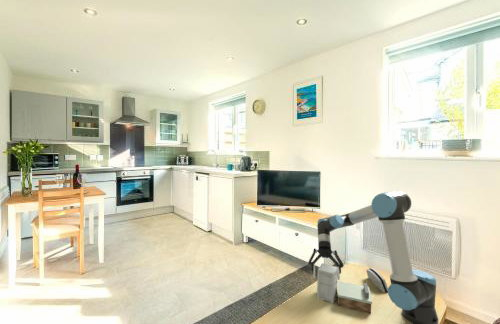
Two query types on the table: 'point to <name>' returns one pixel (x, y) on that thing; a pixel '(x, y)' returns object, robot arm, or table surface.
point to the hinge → (377, 279)
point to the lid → (354, 292)
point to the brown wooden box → (354, 305)
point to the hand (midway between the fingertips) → (326, 278)
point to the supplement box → (327, 282)
